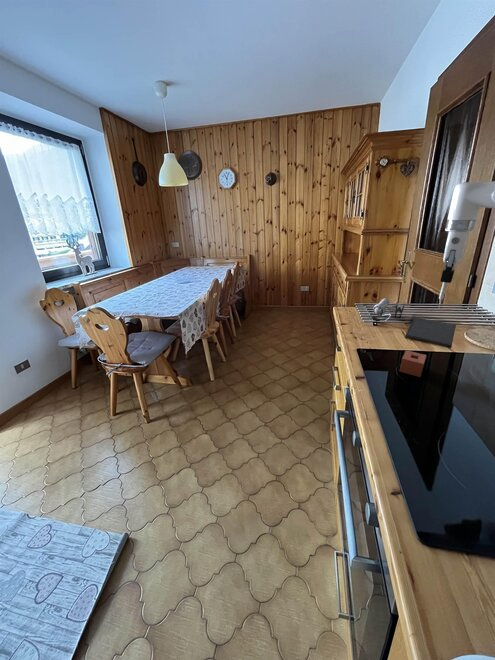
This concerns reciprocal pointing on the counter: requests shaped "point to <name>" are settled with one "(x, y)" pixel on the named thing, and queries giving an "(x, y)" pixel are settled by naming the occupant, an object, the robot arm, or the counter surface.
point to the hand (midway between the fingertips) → (446, 281)
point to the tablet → (431, 332)
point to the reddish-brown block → (412, 363)
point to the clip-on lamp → (383, 305)
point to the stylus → (442, 291)
